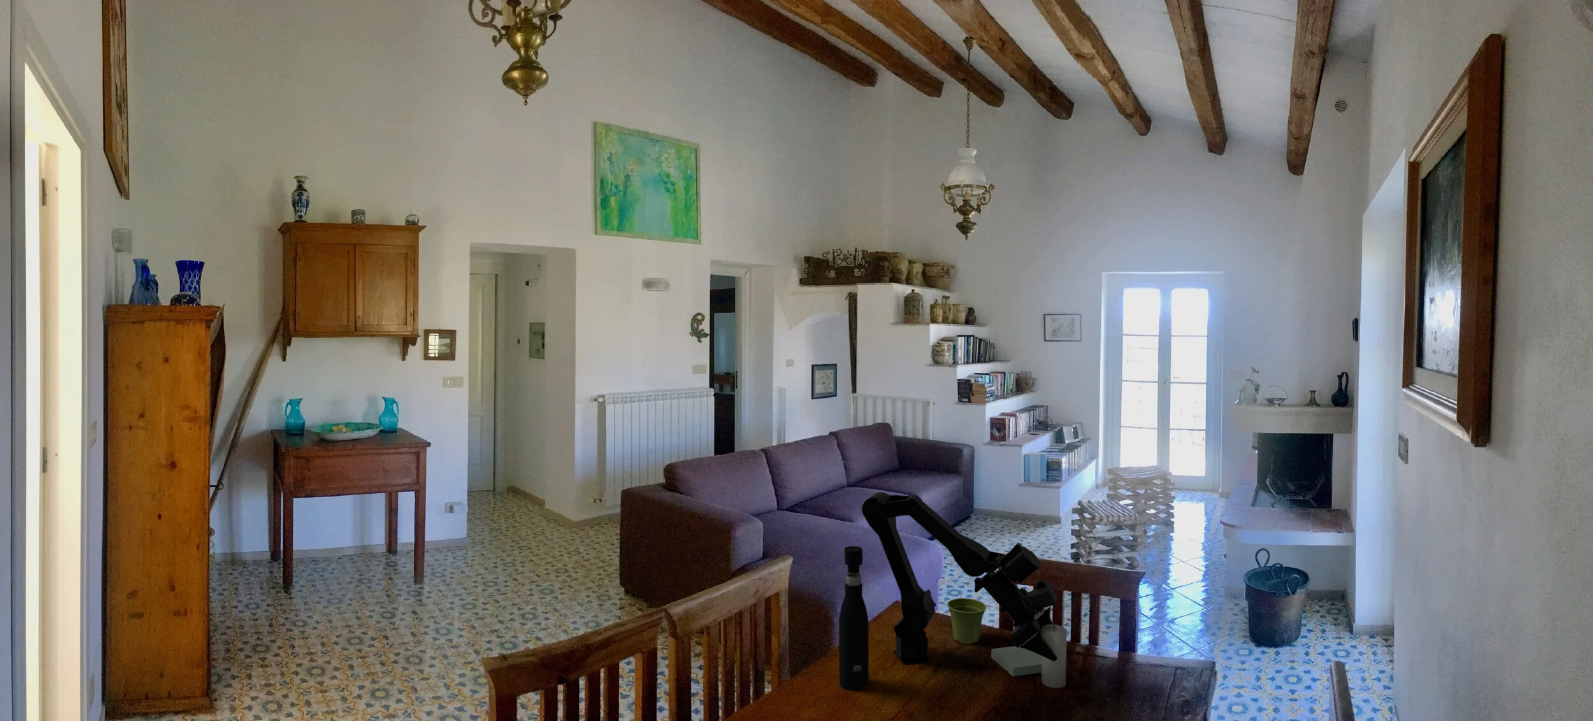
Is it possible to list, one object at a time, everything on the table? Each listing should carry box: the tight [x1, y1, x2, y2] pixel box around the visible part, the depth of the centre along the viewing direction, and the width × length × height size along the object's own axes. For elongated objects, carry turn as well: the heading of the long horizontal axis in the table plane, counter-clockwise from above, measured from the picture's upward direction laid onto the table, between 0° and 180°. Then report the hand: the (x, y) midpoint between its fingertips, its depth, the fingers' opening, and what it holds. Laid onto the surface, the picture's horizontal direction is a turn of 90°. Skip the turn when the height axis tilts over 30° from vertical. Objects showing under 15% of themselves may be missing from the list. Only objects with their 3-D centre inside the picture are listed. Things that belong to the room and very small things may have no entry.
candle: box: [1041, 624, 1068, 689], centre depth 178 cm, size 5×5×13 cm
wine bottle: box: [838, 545, 870, 691], centre depth 178 cm, size 6×6×30 cm
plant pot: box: [946, 597, 987, 645], centre depth 202 cm, size 9×9×9 cm
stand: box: [990, 645, 1042, 677], centre depth 188 cm, size 10×10×2 cm
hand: (1058, 651), depth 178 cm, fingers open, 9 cm apart
